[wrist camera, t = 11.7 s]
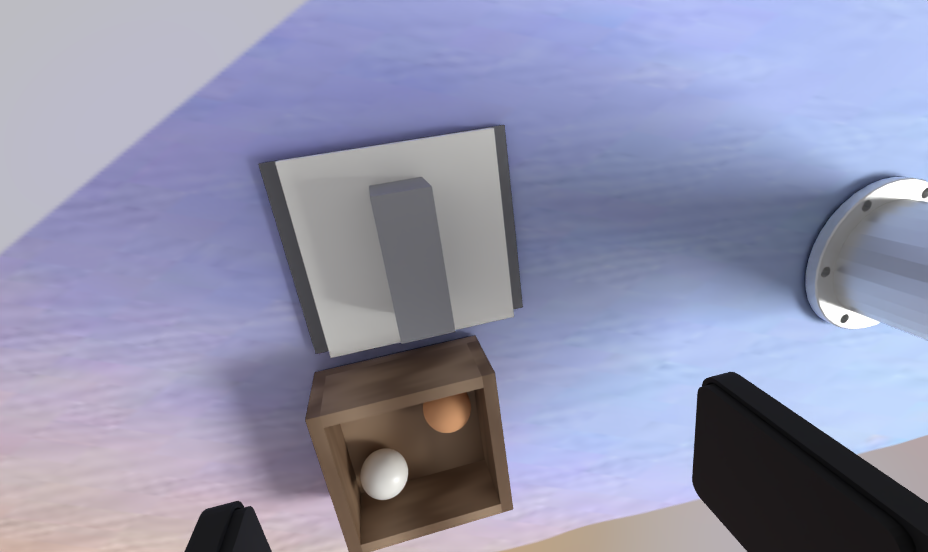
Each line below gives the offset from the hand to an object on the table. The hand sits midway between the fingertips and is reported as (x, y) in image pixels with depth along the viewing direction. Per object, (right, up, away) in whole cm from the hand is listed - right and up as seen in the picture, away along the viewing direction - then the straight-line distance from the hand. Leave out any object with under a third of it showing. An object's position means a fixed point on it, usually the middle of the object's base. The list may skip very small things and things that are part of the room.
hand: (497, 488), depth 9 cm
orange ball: (-2, -4, +20) cm, 21 cm away
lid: (-4, +6, +18) cm, 19 cm away
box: (-4, -6, +23) cm, 24 cm away
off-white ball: (-6, -9, +21) cm, 23 cm away
